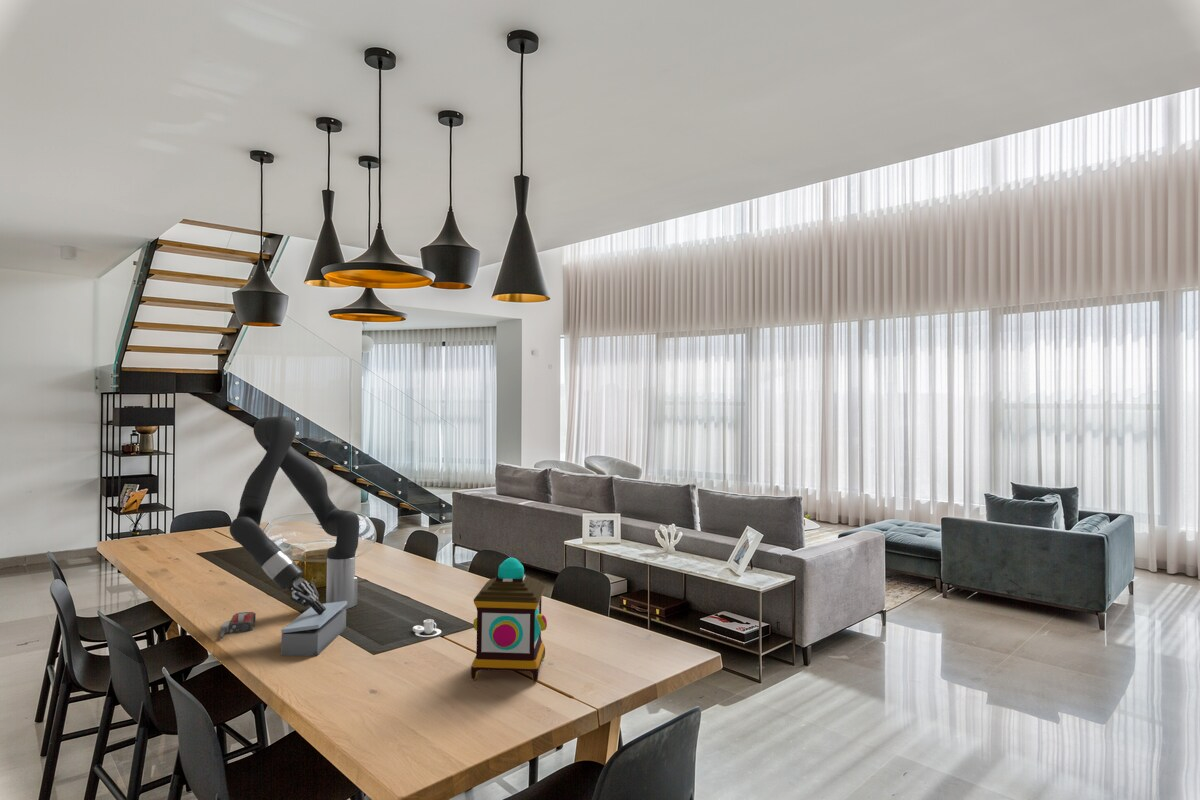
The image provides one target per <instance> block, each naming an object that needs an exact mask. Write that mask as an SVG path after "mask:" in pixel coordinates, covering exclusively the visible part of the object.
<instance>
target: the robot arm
mask: <svg viewBox="0 0 1200 800" xmlns="http://www.w3.org/2000/svg"><path fill="white" fill-rule="evenodd" d="M295 424H296V423H295V422H294V420H293V419H292V418H290V417H288V416H284V415H283V416H281V415H280V416H279V415H278V416H266V417H262V418H259V419H258V420H256V421H255V423H254V426H253V435H254V438H255V440H256V441H257V443H258V444H259V445H260V446H261V448H263V449H264V451H266V452H265V454H264V456H263V458H262V460H261V461H260V462H259V463H258V465H257V467H256V468H254V470H253V472H251V474H250V475H249V477H248V478H247V481H246V482H245V485H244V488H243V491H242V494H241V497H240V500H239V510H238V512H237V516H236V518H235V519H233V520H232V522H231V523H230V526H229V534H230V535H231V537H232V539H233V540H234V541H235V542H237V543H239V545H240V546H242V547H243V548H244V549H245V550H246V551H247V552H248V553H249V554H250V556H251V557H252V559H253V560H254V561H255V562H256V564H258V565H259V566H260V568H261V569H262V570H263V572H264V573H265V574H266V575H267V576H268V577H269V578H270V579H271V580H272V581H273V582H274V583H275V585H277V586H278V588H279V589H281V591H284V590H287V589H288V591H289V593H291V596H290V597H289V599H290V600H291V601H293V602H295V603H296V604H298V605H299V604H300V605H301V606H303V607H309V608H310V607H312V608H313V609H314V610H315V611H316V612H317V613H318V614H319V615H320V614H322V613H323V612H324V611H325V610H326V608H325V607H324V606H323V605H322V604H323V603H321V601H320V600H319V597H320V594H319V592H318V590H317V588H316V585H315V583H314V582H313V581H311V582H310V583H309V582H308V581H307V580H306V579H305V578H303V577H302V575H303V574H304V570H302V569H301V567H300V566H299V565H298V564H297V563H296V562H295V561H294V560H293V559H292V558H291V557H290V556H289V555H288V554H287V553H285V552H284V551H283V550H282V549H281V548H280V547H279V546H278V545H277V544H276V543H275V542H274V541H273V540H272V539H271V538H269V536H267V534H266V533H265V532H264V530H263V528H261V527H260V525H261V521H262V517H263V516H262V515H263V512H264V509H265V505H267V501H268V498H269V495H270V491H271V489H272V485H273V483H274V480H275V478H276V475H277V473H278V471H279V470H280V469H281V470H282V472H283V473H284V474H285V476H286V477H287V478H288V479H289V481H290V482H291V484H292V485H293V487H294V488H295V489H296V491H297V492H298V493H299V494H300V496H301V497H302V498H303V500H304V501H305V502H306V504H307V506H309V508H310V509H311V510H312V512H313V514H314V515H315V517H316V519H317V522H318V523H319V524H320V526H321V528H322V529H323V530H324V532H325V533H326V534H327V535H328V536H331V537H336V539H335V545H334V546H332V547H329V548H328V549H327V551H326V588H325V589H326V592H325V594H326V595H325V597H326V598H325V599H326V601H325V603H333V602H340V601H347V605H345V606H344V607H343V608H342V609H346V610H348V609H351V608H353V607H355V606H358V577H356V553H357V552H356V551H357V549H358V546H359V536H360V519H359V517H358V514H356V513H355V512H354V511H351V510H343V509H339V508H338V507H337V506H336V505H335V504H334V503H333V501H332V500H331V498H330V497H329V494H328V493H329V492H328V481H327V479H326V477H325V475H324V474H323V473H322V471H321V470H320V468H319V467H318V466H317V465H316V464H315V463H314V462H313V461H312V460H311V459H309V458H308V457H306V456H305V455H304V454H302V453H301V452H299V451H297V450H296V449H295V448H294V447H293V446H292V444H293V442H294V439H295V436H296V433H297V429H296V427H297V426H296V425H295Z"/></svg>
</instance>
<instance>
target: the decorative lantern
mask: <svg viewBox="0 0 1200 800" xmlns="http://www.w3.org/2000/svg"><path fill="white" fill-rule="evenodd" d="M497 571H498V572H497V576H496V577H495V578H489V580H488V581H487V582H486V583H485V584H484V585H483V586H482V588H481V589H480V590H479V592H478V593H477V594H476V596H475V597H474V598H473V604H474V606H475V608H476V617H475V618H474V619H473V628H474V630H475V631H476V650H475V651H476V655H475V657H474V659H473V661H472V664H471V667H470V676H471V677H470V679H472V680H473V681H475V680H477V678H478V674H479V673H478V672H479V671H493V672H494V671H498V672H500V671H501V672H502V671H503V672H528V673H530V674H531V676H532V681H534V683H535V682H537V681H538V678H539V669H540V666H541V663H542V659H543V660H544V659H545V657H546V656H545V655H546V646H545V644H544V642H543V640H542V631H545V630H547V625H548V624H547V622H548V621H547V618H546V616H545V615H544V614H542V598H543V594H544V592H545V590H546V585H545V584H544V583H543V582H542V581H540V580H539V579H533V578H532V577H530V576H529V575H527V574H526V572H525V568H524V565H523V564H522V563H521V562H520V561H519V560H518V559H517V558H514V557H508V558H506V559H505V560H503V561H502V563H500V564H499V566H498V570H497Z"/></svg>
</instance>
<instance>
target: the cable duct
mask: <svg viewBox="0 0 1200 800" xmlns="http://www.w3.org/2000/svg"><path fill="white" fill-rule="evenodd" d="M346 628H347V609H341V610H340V611H339V612H337V613H336V614H335V615H334V616H333V617H332V618H330V619H329V620H328V621H327V622H326V623H325V624H324V625H322V626H321V627H320V628H318V629H311V630H303V631H295V632H288V633H282V632H281V639H280V640H281V642H280V643H281V645H280V647H281V649H280V650H281V651H280V656H284V657H285V656H286V657H288V656H292V657H293V656H296V657H299V656H301V657H306V656H307V657H308V656H309V657H312V656H313V657H315V656H316V657H317V656H320V654H321V653H322V652H324V650H325V649H326V648H327V647H328V646H329V645H330V644H331V643H332V642H333V641H335V639H337V637H339V635H341V634H342V633H343V632H344V631H345V630H346Z"/></svg>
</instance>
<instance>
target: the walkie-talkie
mask: <svg viewBox="0 0 1200 800" xmlns="http://www.w3.org/2000/svg"><path fill="white" fill-rule="evenodd" d="M255 623H256V612H254V611H243V612H242V611H241V612H236V613H234V614H233V615H232V618H231V620H228V621H225V622H223V623H222V625H221V626H220V634H219V636H218V639H220V640H221V639H222V640H223V637H224V636H225V634H226V633H241V632H242V633H243V632H251V631H253V629H254V626H255Z"/></svg>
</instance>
